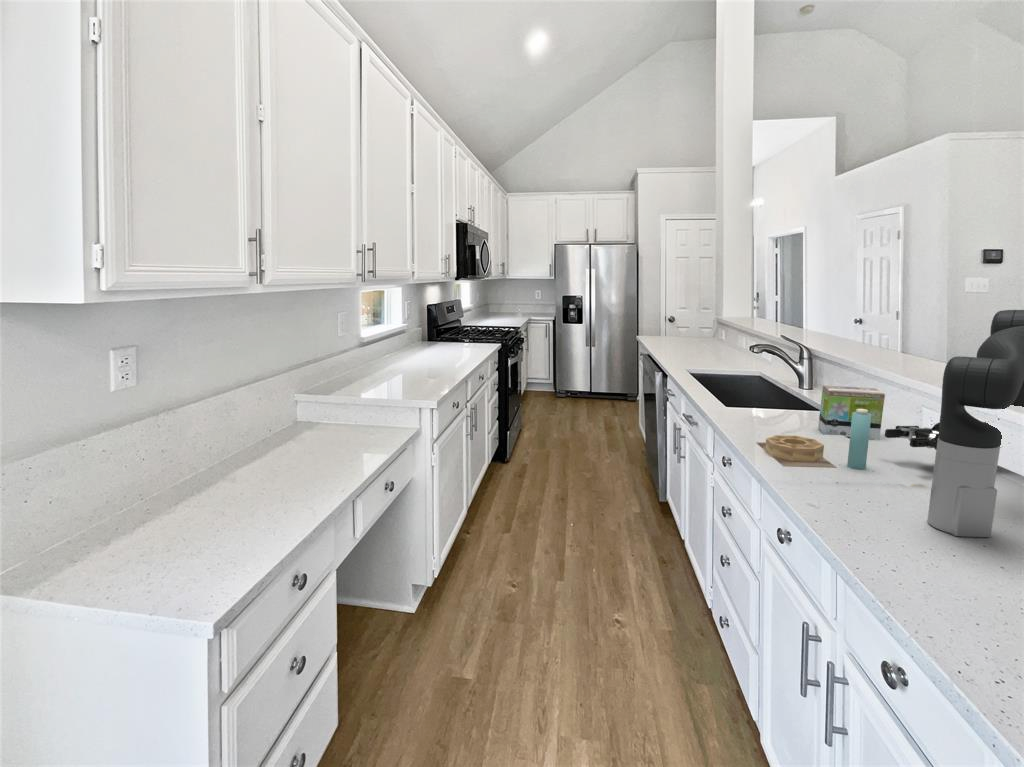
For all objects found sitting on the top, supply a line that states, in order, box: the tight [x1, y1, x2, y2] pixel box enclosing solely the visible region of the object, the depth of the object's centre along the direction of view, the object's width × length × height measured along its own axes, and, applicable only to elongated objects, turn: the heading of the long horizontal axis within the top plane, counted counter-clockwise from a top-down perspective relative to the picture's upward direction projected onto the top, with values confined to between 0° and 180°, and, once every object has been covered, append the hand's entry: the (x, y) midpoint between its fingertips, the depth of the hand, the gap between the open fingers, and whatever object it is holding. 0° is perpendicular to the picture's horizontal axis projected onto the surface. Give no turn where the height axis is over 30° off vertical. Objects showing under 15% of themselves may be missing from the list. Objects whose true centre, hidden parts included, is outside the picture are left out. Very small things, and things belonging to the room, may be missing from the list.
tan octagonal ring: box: [764, 434, 825, 462], centre depth 152 cm, size 13×13×4 cm
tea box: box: [818, 385, 886, 440], centre depth 174 cm, size 15×10×15 cm, turn 73°
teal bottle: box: [846, 409, 871, 471], centre depth 140 cm, size 4×4×16 cm
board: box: [755, 441, 838, 469], centre depth 152 cm, size 22×13×1 cm, turn 174°
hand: (898, 437), depth 140 cm, fingers open, 8 cm apart
